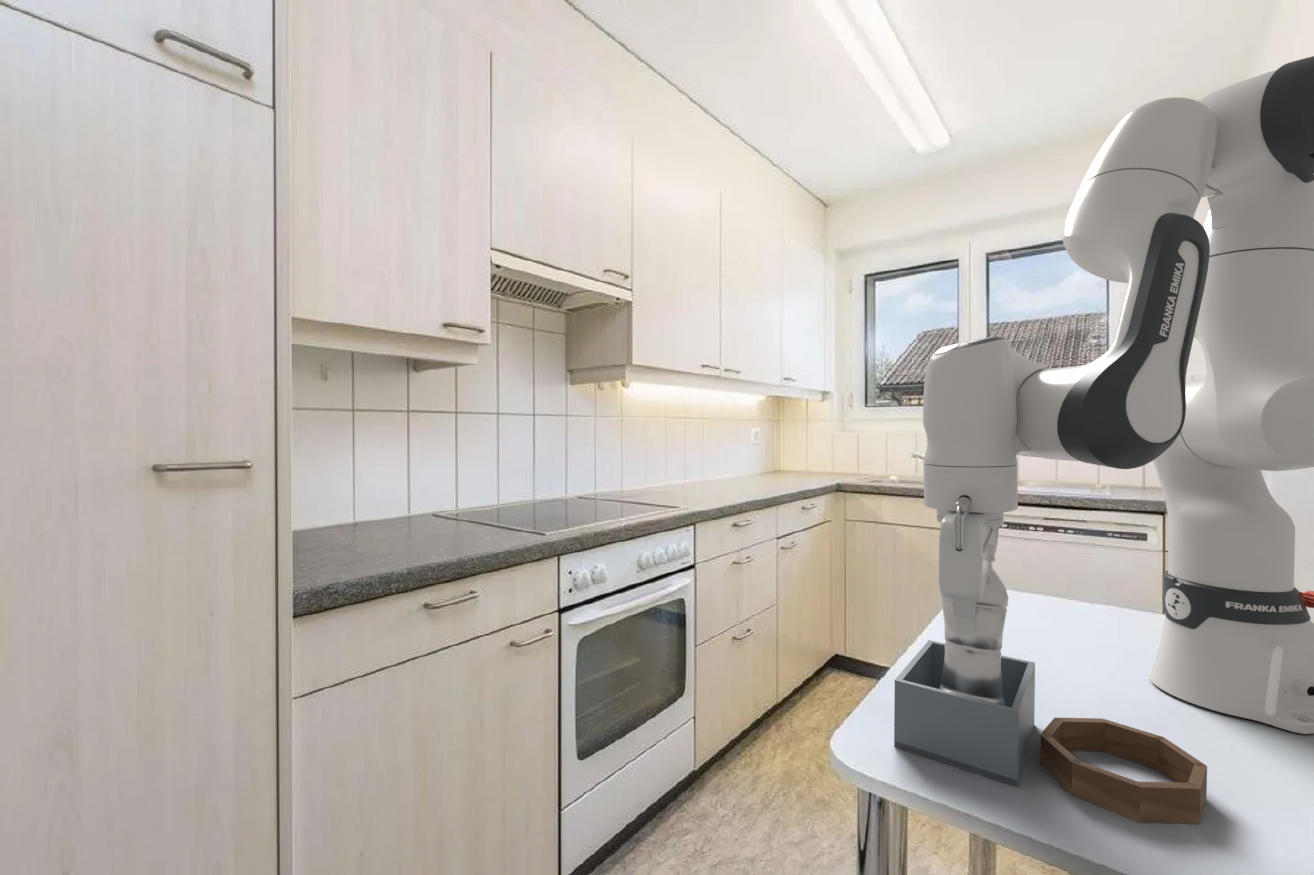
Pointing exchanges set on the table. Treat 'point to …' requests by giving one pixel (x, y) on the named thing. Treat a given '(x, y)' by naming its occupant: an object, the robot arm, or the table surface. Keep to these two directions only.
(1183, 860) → the table surface
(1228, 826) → the table surface
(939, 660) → the bin
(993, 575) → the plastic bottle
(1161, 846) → the table surface
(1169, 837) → the table surface
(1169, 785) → the collar
